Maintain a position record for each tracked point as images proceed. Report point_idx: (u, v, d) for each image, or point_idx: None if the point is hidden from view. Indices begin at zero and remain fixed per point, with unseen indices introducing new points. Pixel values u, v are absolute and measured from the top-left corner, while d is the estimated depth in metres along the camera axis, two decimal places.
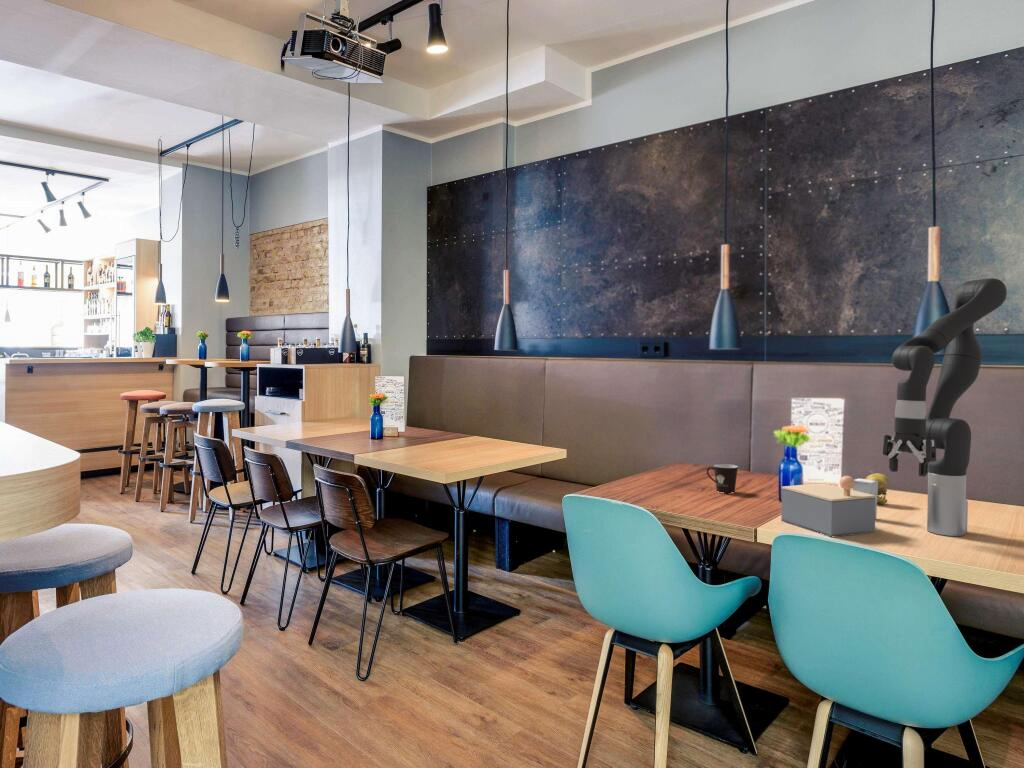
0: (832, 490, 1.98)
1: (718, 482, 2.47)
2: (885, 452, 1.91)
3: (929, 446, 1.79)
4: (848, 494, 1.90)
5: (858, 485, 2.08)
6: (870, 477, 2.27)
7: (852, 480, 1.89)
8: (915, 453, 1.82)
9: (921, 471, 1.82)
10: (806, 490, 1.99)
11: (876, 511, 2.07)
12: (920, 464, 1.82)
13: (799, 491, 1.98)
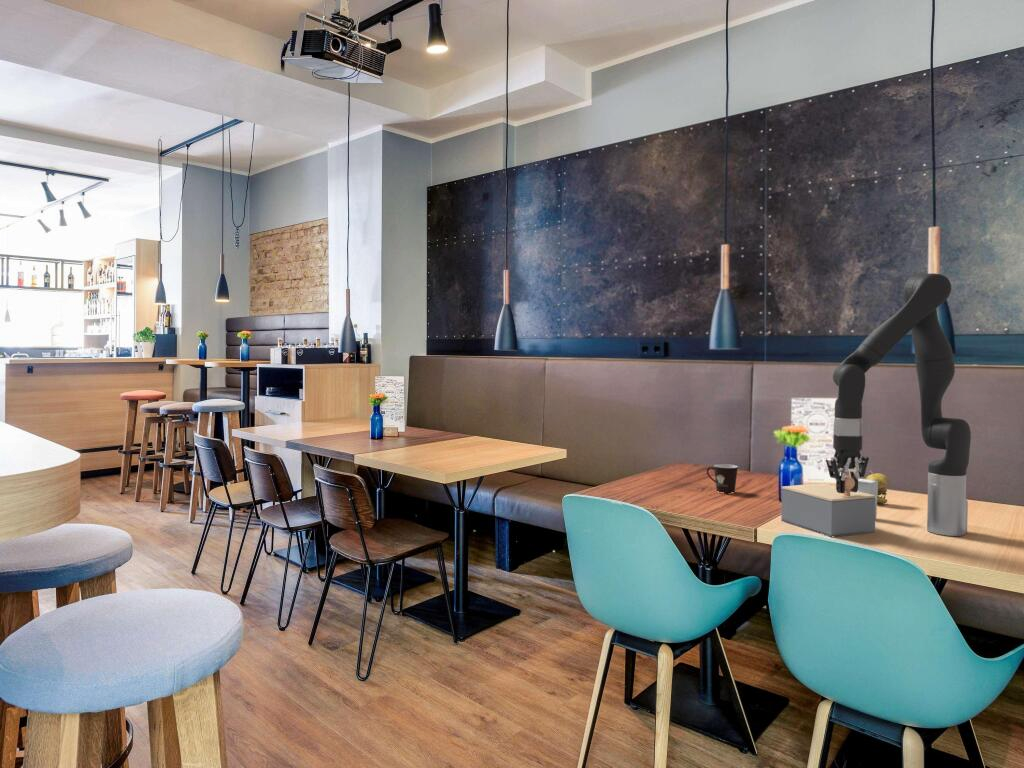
0: (832, 490, 1.98)
1: (718, 482, 2.47)
2: (838, 476, 1.88)
3: (866, 463, 1.91)
4: (848, 494, 1.90)
5: (858, 485, 2.08)
6: (870, 477, 2.27)
7: (852, 480, 1.89)
8: (857, 470, 1.90)
9: (856, 487, 1.91)
10: (806, 490, 1.99)
11: (876, 511, 2.07)
12: (856, 481, 1.90)
13: (799, 491, 1.98)
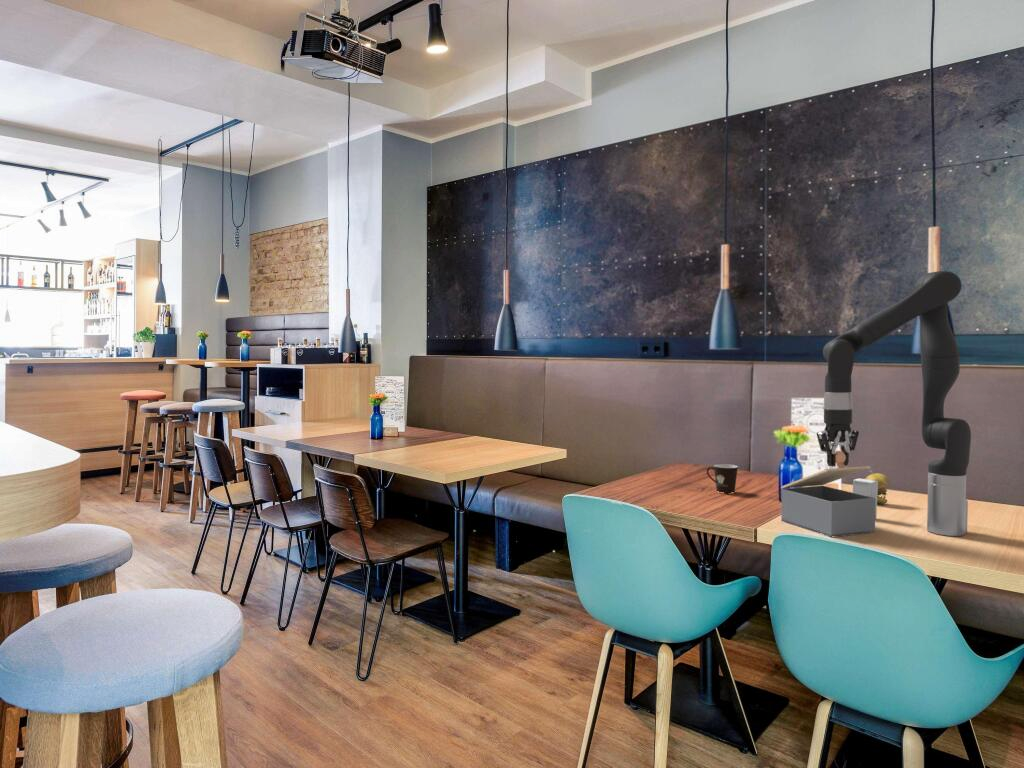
0: None
1: (718, 482, 2.47)
2: (829, 449, 1.91)
3: (857, 437, 1.94)
4: (843, 467, 1.92)
5: (858, 485, 2.08)
6: (870, 477, 2.27)
7: (841, 452, 1.93)
8: (847, 443, 1.93)
9: None
10: None
11: (876, 511, 2.07)
12: (847, 454, 1.94)
13: (797, 480, 1.99)
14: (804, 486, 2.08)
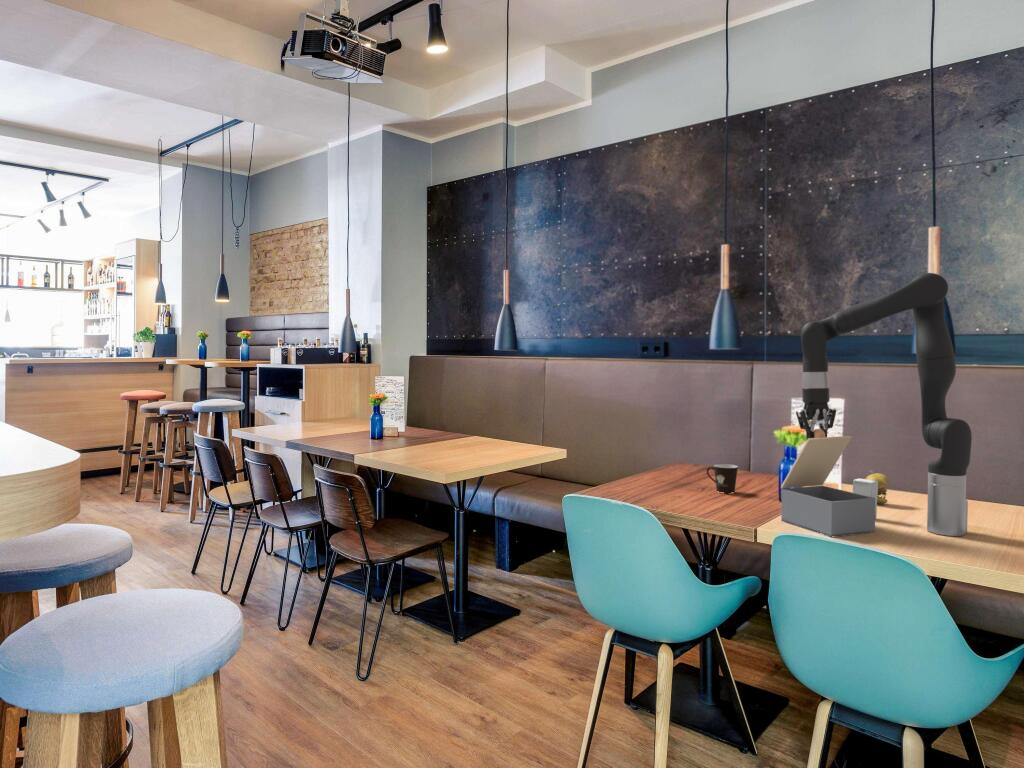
0: None
1: (718, 482, 2.47)
2: (808, 426, 1.99)
3: (834, 415, 2.02)
4: None
5: (858, 485, 2.08)
6: (870, 477, 2.27)
7: (819, 429, 2.01)
8: (825, 421, 2.00)
9: None
10: None
11: (876, 511, 2.07)
12: (825, 432, 2.01)
13: None
14: (804, 486, 2.08)
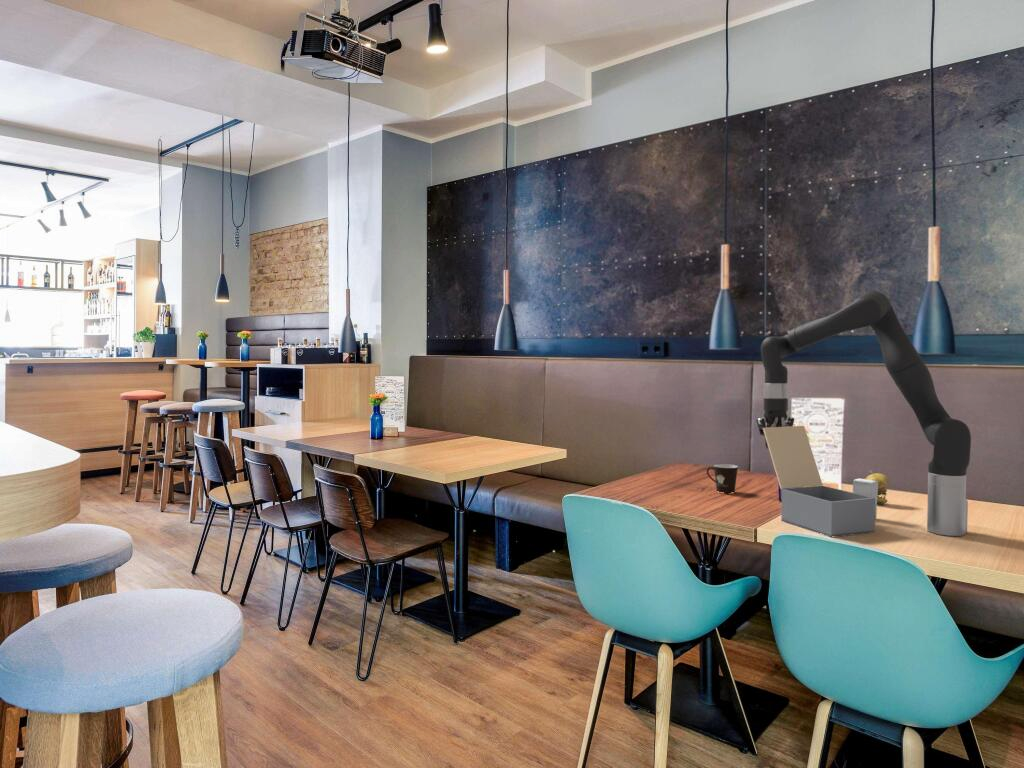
0: None
1: (718, 482, 2.47)
2: None
3: (792, 423, 2.19)
4: None
5: (858, 485, 2.08)
6: (870, 477, 2.27)
7: None
8: None
9: None
10: None
11: (876, 511, 2.07)
12: None
13: (774, 465, 2.08)
14: (804, 486, 2.08)
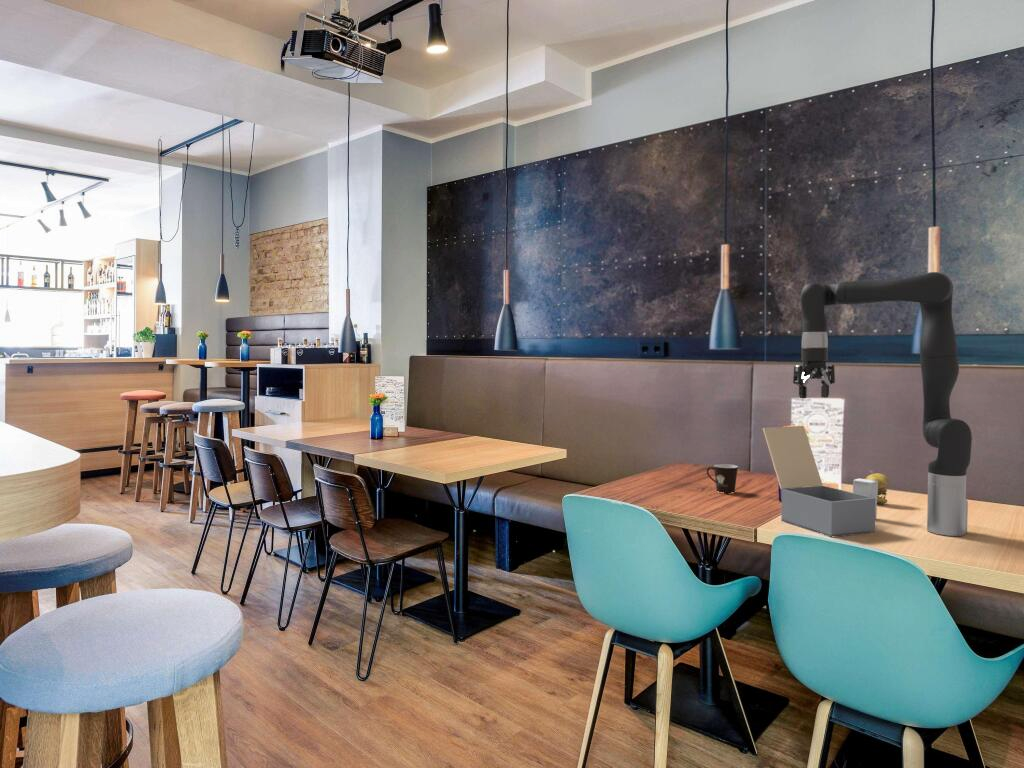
0: None
1: (718, 482, 2.47)
2: (801, 381, 2.06)
3: (833, 370, 2.10)
4: None
5: (858, 485, 2.08)
6: (870, 477, 2.27)
7: None
8: (826, 378, 2.08)
9: (827, 393, 2.09)
10: None
11: (876, 511, 2.07)
12: (827, 387, 2.09)
13: None
14: (804, 486, 2.08)
